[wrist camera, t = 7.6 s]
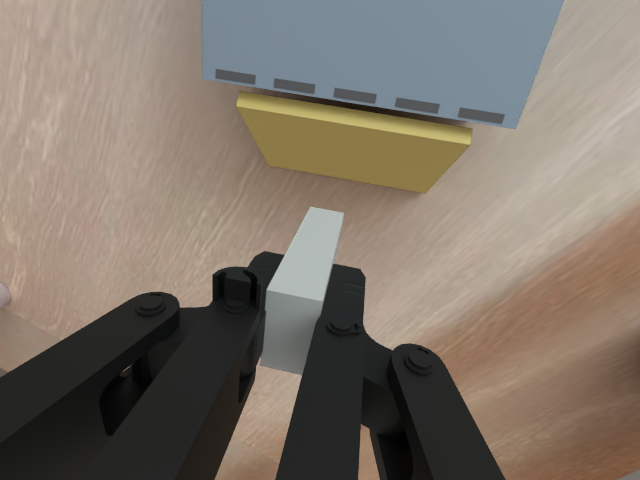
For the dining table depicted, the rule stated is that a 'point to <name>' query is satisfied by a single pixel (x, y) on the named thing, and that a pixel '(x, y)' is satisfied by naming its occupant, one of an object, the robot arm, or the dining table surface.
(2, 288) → the smoothie
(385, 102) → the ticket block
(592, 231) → the dining table surface
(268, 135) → the yellow rectangular panel
